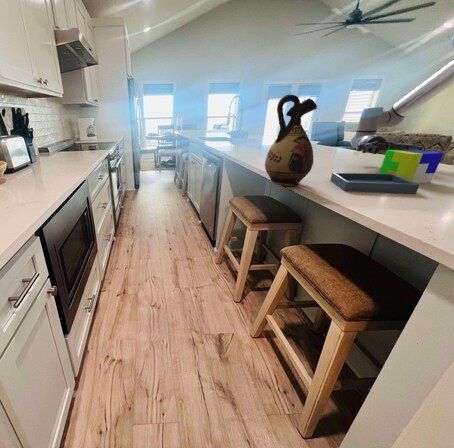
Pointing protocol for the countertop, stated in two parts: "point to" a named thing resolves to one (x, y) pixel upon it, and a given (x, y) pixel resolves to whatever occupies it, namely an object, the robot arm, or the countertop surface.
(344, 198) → the countertop surface
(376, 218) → the countertop surface
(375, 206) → the countertop surface
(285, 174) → the ceramic jug
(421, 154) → the puzzle toy
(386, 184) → the storage tray
